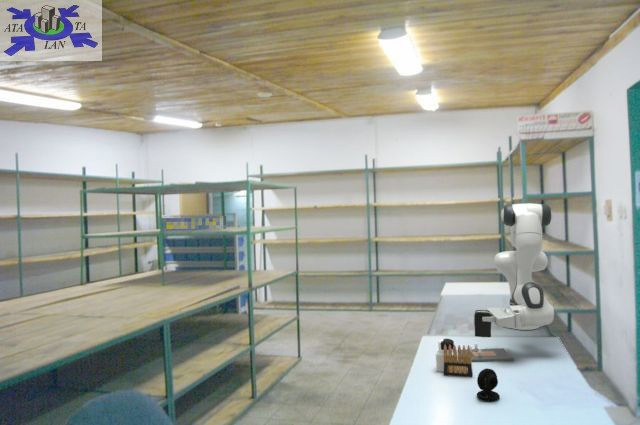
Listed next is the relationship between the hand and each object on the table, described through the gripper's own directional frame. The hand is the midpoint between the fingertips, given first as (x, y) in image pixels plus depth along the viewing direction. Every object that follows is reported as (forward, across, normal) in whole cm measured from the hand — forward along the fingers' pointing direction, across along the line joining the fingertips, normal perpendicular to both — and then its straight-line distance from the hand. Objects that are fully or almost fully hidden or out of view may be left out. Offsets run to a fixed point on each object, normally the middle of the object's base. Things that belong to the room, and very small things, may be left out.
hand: (480, 317), depth 215 cm
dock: (-1, 0, +17) cm, 17 cm away
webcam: (+8, +44, +17) cm, 48 cm away
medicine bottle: (+17, +15, +17) cm, 28 cm away
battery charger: (-1, -2, +8) cm, 9 cm away
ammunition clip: (+14, +22, +17) cm, 31 cm away
